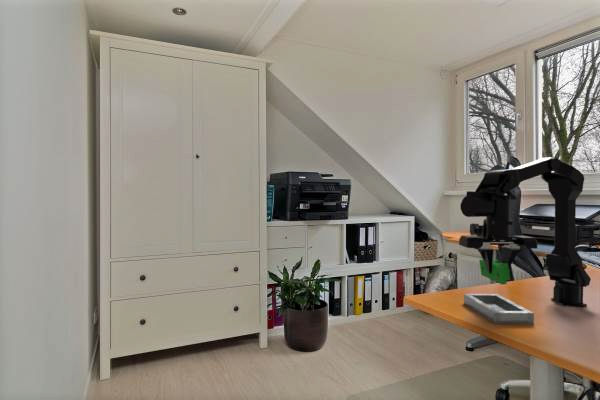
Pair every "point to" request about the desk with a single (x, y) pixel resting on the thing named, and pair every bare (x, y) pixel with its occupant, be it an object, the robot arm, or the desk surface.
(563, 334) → the desk surface
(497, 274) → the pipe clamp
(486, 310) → the gray rectangular tray
